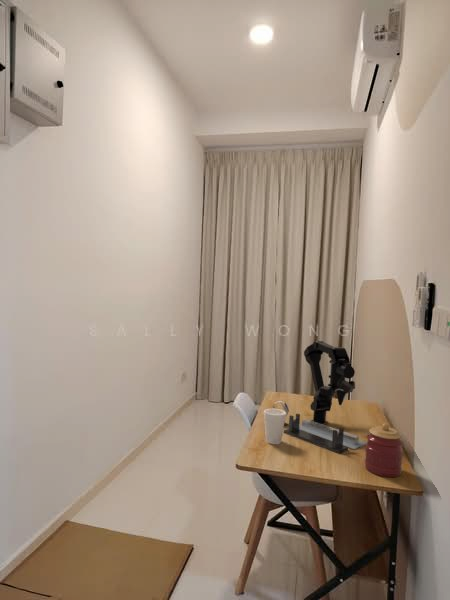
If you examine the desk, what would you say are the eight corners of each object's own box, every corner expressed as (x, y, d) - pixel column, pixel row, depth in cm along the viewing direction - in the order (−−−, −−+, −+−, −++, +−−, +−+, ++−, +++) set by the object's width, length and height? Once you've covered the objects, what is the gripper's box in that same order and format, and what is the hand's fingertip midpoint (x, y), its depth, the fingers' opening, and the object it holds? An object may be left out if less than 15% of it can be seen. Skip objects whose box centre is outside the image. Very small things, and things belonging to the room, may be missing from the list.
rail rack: (293, 429, 191) (294, 412, 191) (348, 449, 170) (349, 429, 169) (283, 432, 186) (284, 414, 186) (338, 453, 165) (340, 433, 165)
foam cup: (287, 440, 176) (289, 411, 176) (279, 447, 168) (281, 416, 168) (267, 436, 181) (269, 407, 181) (258, 442, 173) (260, 412, 173)
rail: (305, 425, 197) (306, 419, 197) (358, 443, 176) (358, 436, 176) (301, 426, 195) (302, 420, 195) (354, 445, 174) (354, 437, 174)
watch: (287, 426, 195) (288, 404, 195) (271, 424, 198) (272, 402, 197) (288, 423, 201) (290, 401, 201) (272, 420, 203) (273, 399, 203)
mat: (307, 423, 201) (307, 422, 201) (366, 444, 177) (367, 443, 177) (293, 428, 194) (293, 427, 194) (353, 449, 170) (353, 448, 170)
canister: (371, 459, 161) (374, 415, 160) (405, 470, 152) (408, 424, 152) (359, 469, 151) (362, 423, 150) (395, 481, 142) (398, 432, 142)
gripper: (341, 379, 179) (338, 414, 179) (362, 375, 191) (360, 407, 192) (319, 374, 187) (317, 408, 187) (341, 370, 199) (339, 402, 200)
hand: (334, 406), depth 191 cm, fingers open, 9 cm apart
